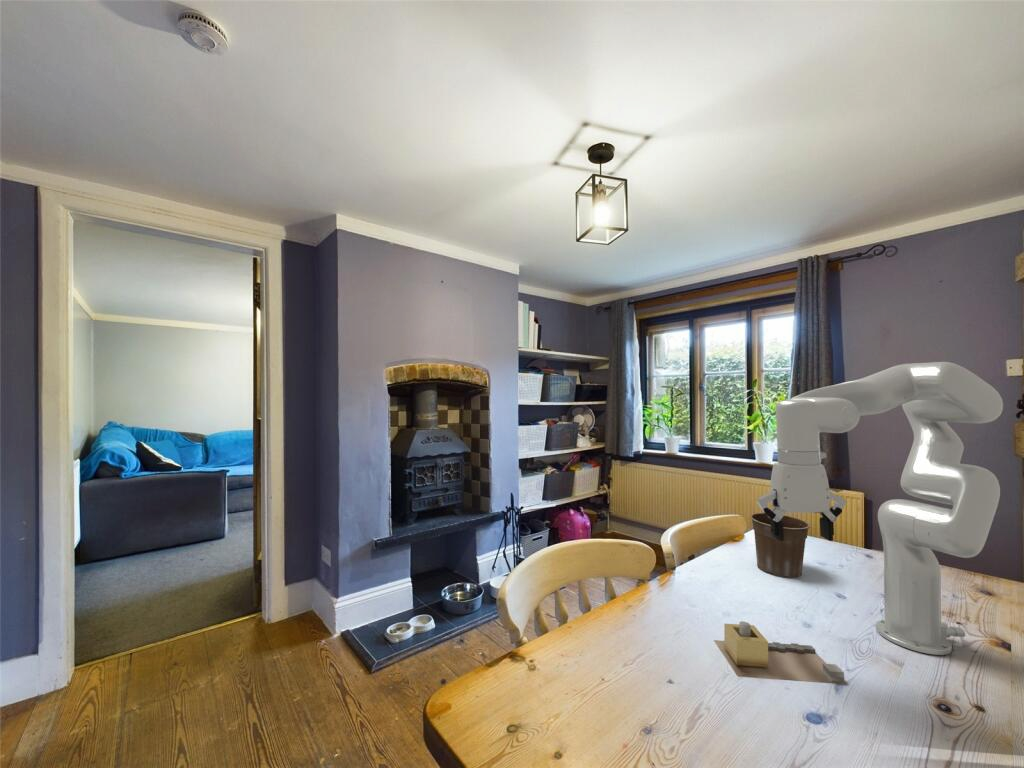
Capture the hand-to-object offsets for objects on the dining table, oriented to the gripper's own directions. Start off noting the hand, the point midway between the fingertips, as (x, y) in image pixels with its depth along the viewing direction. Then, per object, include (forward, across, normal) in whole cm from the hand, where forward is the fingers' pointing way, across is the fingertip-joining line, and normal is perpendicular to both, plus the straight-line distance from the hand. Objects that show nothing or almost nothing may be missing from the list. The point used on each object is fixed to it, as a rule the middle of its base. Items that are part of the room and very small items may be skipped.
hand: (802, 538), depth 89 cm
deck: (+25, +8, +3) cm, 27 cm away
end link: (+23, +14, +3) cm, 27 cm away
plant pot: (+28, -19, -48) cm, 58 cm away
